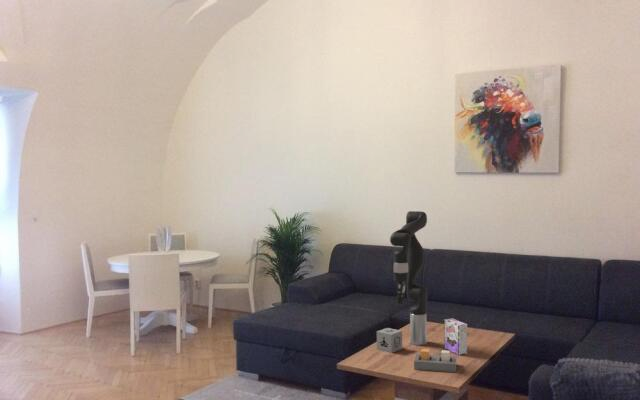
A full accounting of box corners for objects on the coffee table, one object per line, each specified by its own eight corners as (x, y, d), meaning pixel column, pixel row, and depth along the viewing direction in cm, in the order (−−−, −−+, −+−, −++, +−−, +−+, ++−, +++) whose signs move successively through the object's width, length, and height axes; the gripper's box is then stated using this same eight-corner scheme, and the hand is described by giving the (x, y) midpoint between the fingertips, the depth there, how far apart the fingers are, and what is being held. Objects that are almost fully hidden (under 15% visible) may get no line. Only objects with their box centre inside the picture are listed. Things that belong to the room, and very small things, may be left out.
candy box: (443, 348, 320) (443, 318, 319) (453, 347, 322) (452, 317, 321) (458, 355, 307) (458, 324, 306) (467, 354, 309) (467, 323, 308)
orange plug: (421, 362, 293) (421, 349, 293) (429, 363, 292) (429, 349, 292) (421, 365, 289) (420, 351, 289) (429, 365, 288) (429, 351, 288)
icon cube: (387, 345, 327) (387, 327, 327) (402, 348, 320) (402, 330, 320) (376, 349, 320) (376, 331, 320) (391, 352, 313) (391, 334, 313)
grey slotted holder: (416, 361, 298) (416, 346, 298) (456, 364, 293) (456, 348, 293) (414, 369, 287) (414, 353, 286) (455, 372, 281) (455, 355, 281)
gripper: (395, 268, 309) (395, 298, 310) (391, 273, 295) (392, 304, 296) (409, 268, 307) (409, 299, 308) (406, 273, 293) (406, 305, 294)
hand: (401, 301), depth 302 cm, fingers open, 8 cm apart
